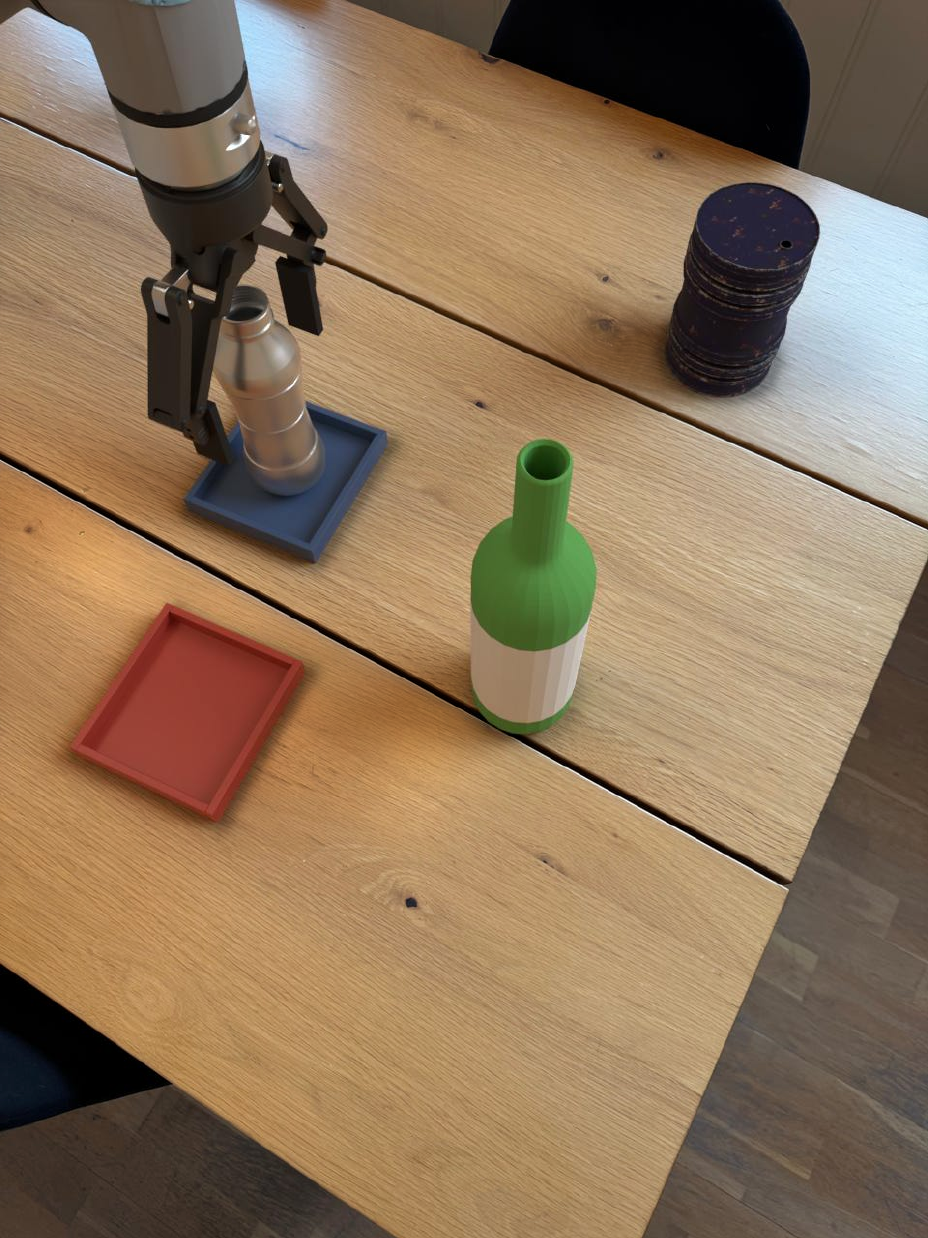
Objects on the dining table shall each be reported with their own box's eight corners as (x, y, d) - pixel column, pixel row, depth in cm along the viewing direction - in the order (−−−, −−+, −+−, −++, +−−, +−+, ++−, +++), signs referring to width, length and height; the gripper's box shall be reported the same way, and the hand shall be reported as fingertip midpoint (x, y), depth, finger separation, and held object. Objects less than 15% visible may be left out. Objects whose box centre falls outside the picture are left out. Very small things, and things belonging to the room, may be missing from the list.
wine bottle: (580, 657, 79) (633, 412, 53) (562, 749, 76) (609, 538, 49) (483, 637, 80) (486, 387, 53) (460, 727, 77) (452, 508, 50)
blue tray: (188, 511, 86) (183, 498, 84) (266, 398, 91) (263, 384, 89) (315, 563, 83) (312, 551, 82) (388, 444, 89) (386, 431, 87)
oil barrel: (640, 353, 93) (667, 222, 80) (711, 298, 96) (749, 163, 83) (723, 416, 90) (766, 291, 76) (794, 357, 93) (848, 226, 79)
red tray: (77, 756, 76) (68, 747, 74) (172, 613, 81) (166, 602, 80) (217, 823, 74) (211, 815, 72) (306, 671, 79) (302, 661, 77)
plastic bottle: (319, 511, 85) (277, 345, 67) (241, 499, 86) (179, 332, 68) (337, 449, 88) (301, 274, 70) (261, 438, 89) (207, 263, 71)
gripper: (132, 322, 53) (220, 535, 72) (356, 41, 63) (381, 293, 82) (12, 276, 54) (129, 497, 73) (250, 8, 64) (299, 264, 83)
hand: (262, 390), depth 77 cm, fingers open, 13 cm apart
